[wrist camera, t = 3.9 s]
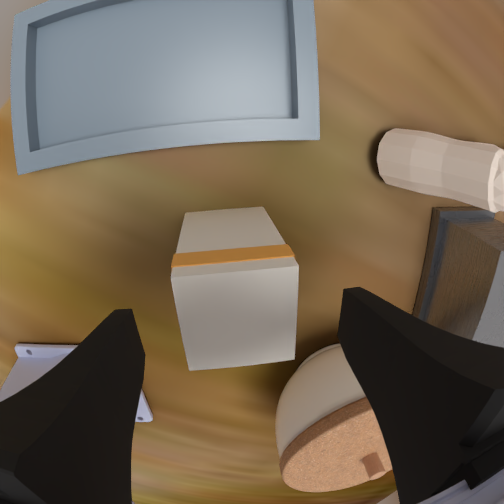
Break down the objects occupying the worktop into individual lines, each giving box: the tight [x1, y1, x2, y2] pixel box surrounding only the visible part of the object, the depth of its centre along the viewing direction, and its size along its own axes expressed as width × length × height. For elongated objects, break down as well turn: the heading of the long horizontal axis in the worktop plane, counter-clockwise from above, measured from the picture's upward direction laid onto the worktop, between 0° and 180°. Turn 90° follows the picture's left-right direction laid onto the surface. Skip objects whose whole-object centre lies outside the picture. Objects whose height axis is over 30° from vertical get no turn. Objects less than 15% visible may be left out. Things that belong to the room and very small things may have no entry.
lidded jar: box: [275, 343, 392, 492], centre depth 18 cm, size 11×11×9 cm
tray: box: [11, 0, 320, 175], centre depth 12 cm, size 15×9×2 cm, turn 92°
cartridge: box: [171, 207, 299, 371], centre depth 14 cm, size 4×4×7 cm
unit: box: [412, 207, 504, 348], centre depth 17 cm, size 6×9×6 cm, turn 2°
